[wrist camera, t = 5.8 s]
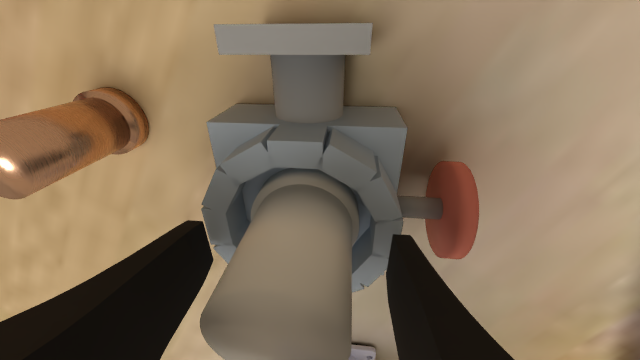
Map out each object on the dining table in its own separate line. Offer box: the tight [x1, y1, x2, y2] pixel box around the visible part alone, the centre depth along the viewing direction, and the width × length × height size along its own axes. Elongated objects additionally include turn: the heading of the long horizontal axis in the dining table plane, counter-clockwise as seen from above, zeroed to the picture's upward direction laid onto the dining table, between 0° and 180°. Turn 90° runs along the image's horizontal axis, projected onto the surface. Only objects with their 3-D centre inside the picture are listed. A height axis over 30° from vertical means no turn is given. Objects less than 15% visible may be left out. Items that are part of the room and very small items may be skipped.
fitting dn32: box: [0, 87, 149, 199], centre depth 12 cm, size 3×3×6 cm
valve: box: [201, 23, 479, 292], centre depth 13 cm, size 15×11×5 cm
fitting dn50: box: [200, 168, 359, 360], centre depth 10 cm, size 5×5×6 cm
